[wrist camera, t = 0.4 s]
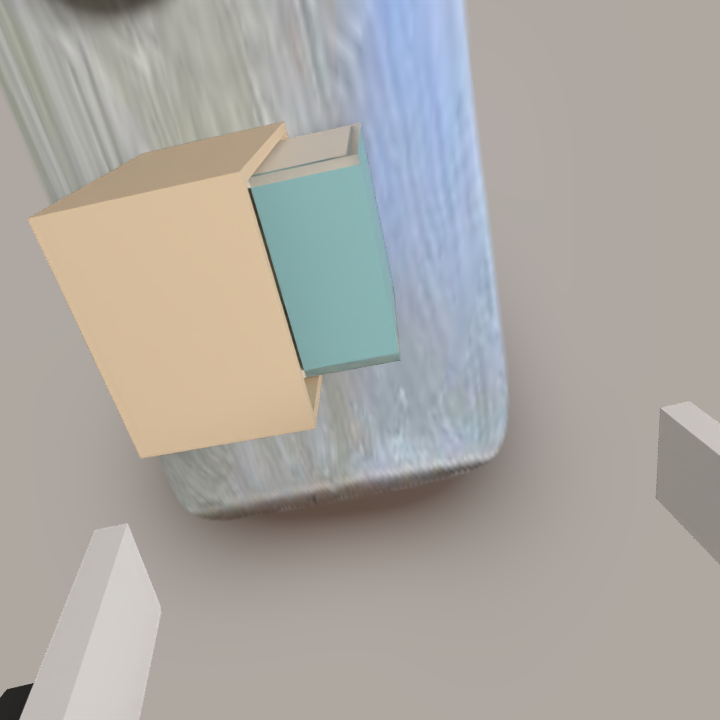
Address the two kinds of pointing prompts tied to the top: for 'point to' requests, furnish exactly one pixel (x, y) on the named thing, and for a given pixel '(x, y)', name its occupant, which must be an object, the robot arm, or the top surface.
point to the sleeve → (181, 296)
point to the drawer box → (327, 250)
